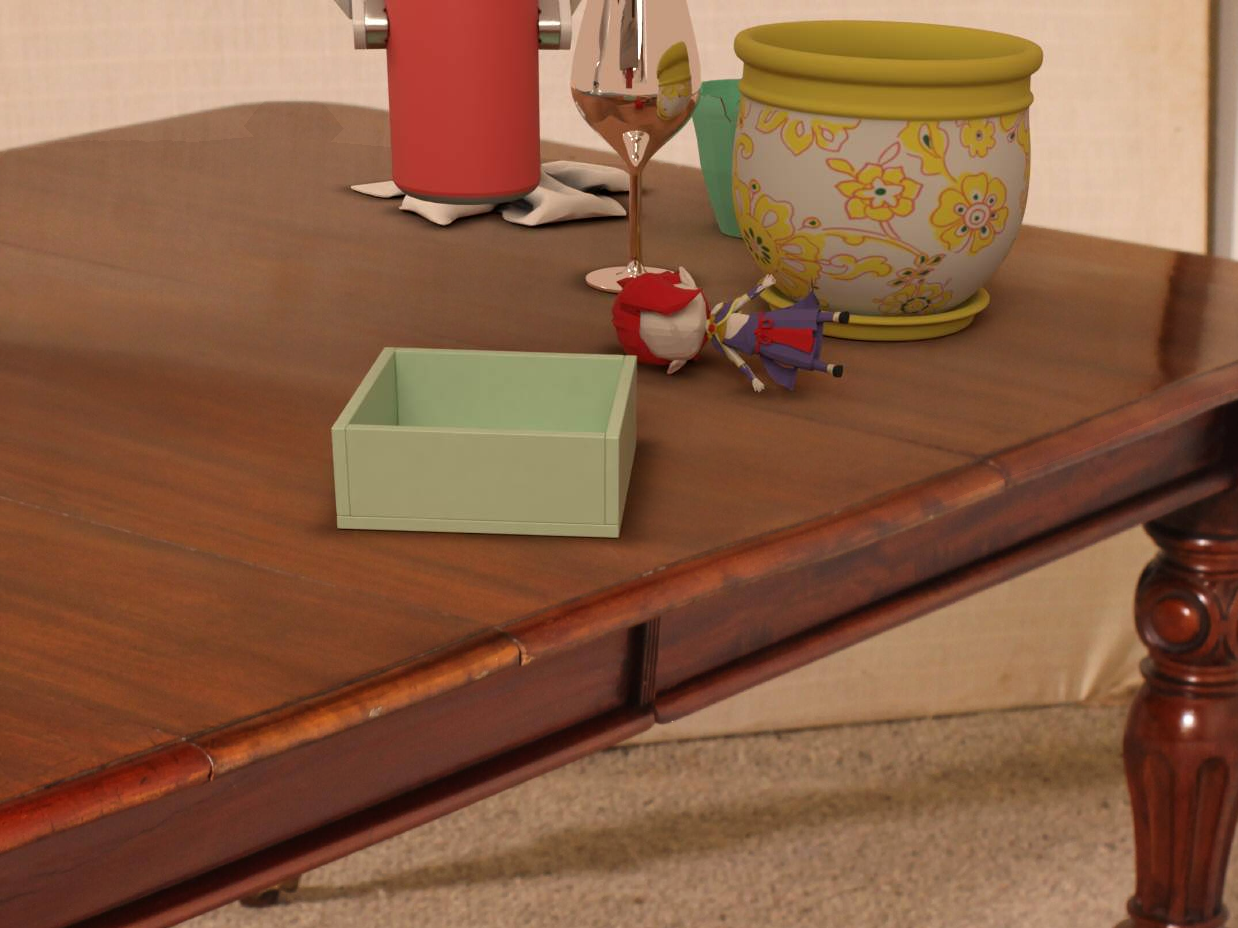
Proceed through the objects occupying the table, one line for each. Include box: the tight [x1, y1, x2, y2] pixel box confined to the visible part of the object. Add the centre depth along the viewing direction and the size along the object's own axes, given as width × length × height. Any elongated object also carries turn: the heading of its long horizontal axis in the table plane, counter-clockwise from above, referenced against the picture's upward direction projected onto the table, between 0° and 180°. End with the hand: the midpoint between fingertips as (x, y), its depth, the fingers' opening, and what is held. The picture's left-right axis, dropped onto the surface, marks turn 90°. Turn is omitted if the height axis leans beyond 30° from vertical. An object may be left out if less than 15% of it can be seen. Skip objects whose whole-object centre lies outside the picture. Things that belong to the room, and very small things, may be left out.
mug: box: [691, 78, 743, 239], centre depth 134 cm, size 15×10×10 cm
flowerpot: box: [732, 19, 1044, 342], centre depth 113 cm, size 18×18×16 cm
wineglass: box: [569, 0, 703, 294], centre depth 118 cm, size 8×8×18 cm
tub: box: [330, 346, 638, 539], centre depth 86 cm, size 12×12×5 cm
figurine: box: [611, 265, 850, 393], centre depth 102 cm, size 6×8×15 cm
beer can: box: [384, 0, 541, 205], centre depth 82 cm, size 7×7×12 cm
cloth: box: [350, 153, 629, 227], centre depth 141 cm, size 22×19×6 cm
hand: (464, 41), depth 81 cm, fingers closed on beer can, 6 cm apart
